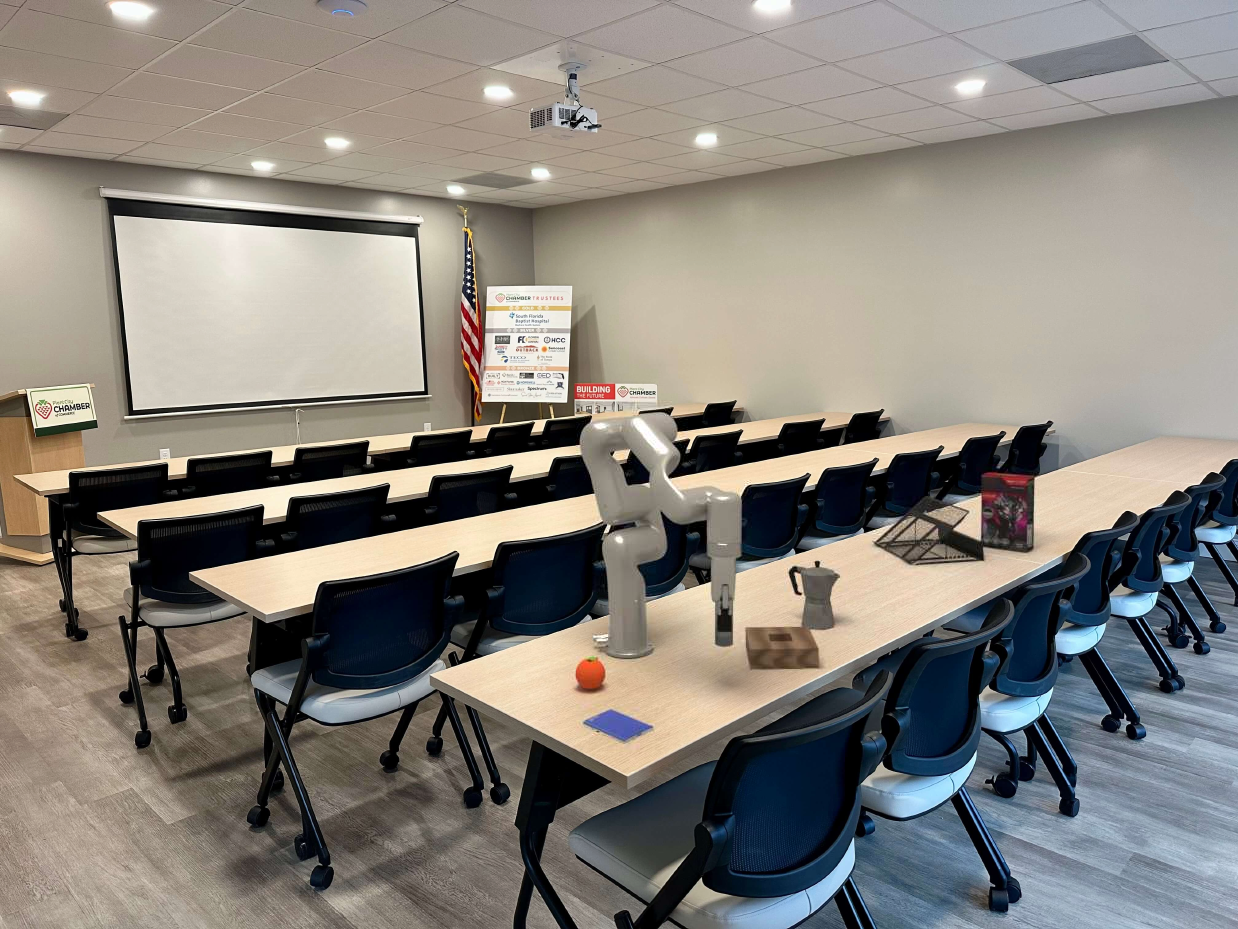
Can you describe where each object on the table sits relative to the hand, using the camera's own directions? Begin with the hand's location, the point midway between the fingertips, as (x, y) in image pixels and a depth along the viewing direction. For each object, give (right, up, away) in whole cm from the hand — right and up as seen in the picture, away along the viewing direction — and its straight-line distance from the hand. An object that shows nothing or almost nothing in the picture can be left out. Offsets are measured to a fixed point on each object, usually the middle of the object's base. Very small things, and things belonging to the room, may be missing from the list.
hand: (723, 627), depth 186 cm
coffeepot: (+30, -8, +44) cm, 54 cm away
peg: (0, -4, +1) cm, 4 cm away
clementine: (-30, -15, +6) cm, 34 cm away
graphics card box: (+118, +5, +119) cm, 168 cm away
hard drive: (-24, -18, -16) cm, 34 cm away
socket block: (+17, -11, +20) cm, 28 cm away
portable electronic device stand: (+89, +4, +118) cm, 148 cm away
